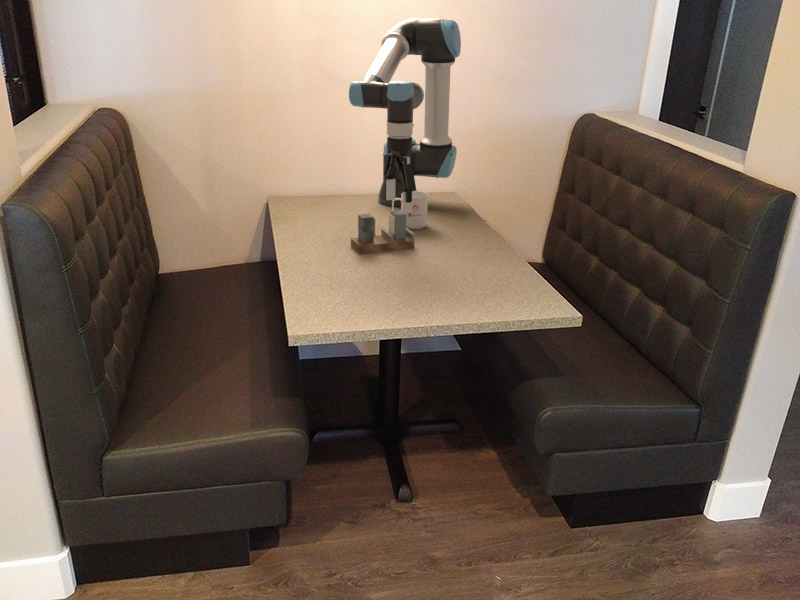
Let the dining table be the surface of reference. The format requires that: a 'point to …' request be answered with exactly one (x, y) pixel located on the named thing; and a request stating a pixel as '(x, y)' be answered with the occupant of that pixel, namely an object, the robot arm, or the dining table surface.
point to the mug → (416, 210)
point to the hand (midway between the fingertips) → (398, 205)
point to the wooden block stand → (378, 238)
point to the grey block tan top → (397, 224)
